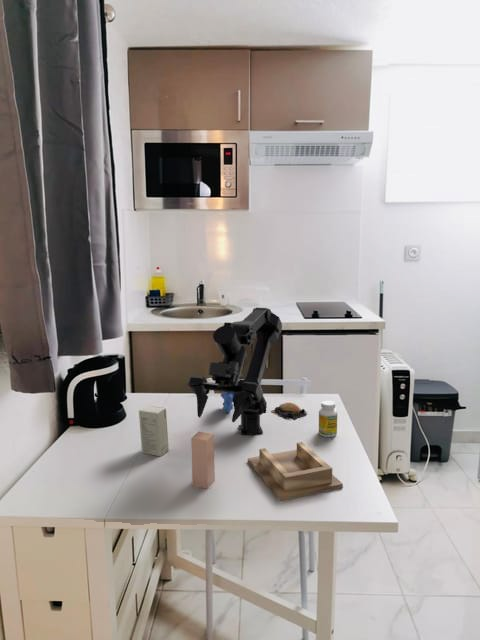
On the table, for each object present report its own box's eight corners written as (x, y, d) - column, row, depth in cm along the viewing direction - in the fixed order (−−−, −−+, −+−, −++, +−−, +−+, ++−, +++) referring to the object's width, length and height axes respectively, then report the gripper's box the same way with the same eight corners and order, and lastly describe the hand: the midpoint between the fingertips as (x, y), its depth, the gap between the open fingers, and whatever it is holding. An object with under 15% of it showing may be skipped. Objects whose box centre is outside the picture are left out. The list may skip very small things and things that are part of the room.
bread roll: (268, 413, 164) (268, 403, 163) (286, 407, 169) (286, 397, 168) (292, 422, 156) (292, 411, 155) (310, 415, 161) (310, 405, 160)
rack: (247, 461, 129) (247, 445, 128) (303, 451, 134) (303, 436, 133) (280, 500, 110) (280, 482, 109) (342, 487, 116) (343, 469, 115)
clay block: (199, 477, 121) (198, 431, 119) (214, 480, 119) (214, 433, 117) (192, 485, 117) (191, 438, 115) (207, 488, 116) (206, 440, 113)
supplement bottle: (328, 428, 149) (328, 398, 148) (340, 434, 145) (341, 403, 143) (314, 432, 147) (315, 401, 145) (327, 439, 142) (328, 407, 140)
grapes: (242, 418, 158) (242, 382, 156) (221, 418, 158) (220, 382, 155) (239, 405, 170) (239, 371, 167) (219, 406, 169) (219, 372, 167)
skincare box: (169, 450, 136) (167, 408, 133) (160, 457, 132) (158, 413, 130) (149, 446, 138) (147, 404, 136) (140, 452, 134) (138, 409, 132)
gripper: (189, 345, 128) (170, 400, 120) (258, 351, 121) (242, 409, 113) (203, 367, 137) (186, 419, 128) (268, 373, 130) (254, 429, 122)
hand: (215, 419), depth 123 cm, fingers open, 9 cm apart
